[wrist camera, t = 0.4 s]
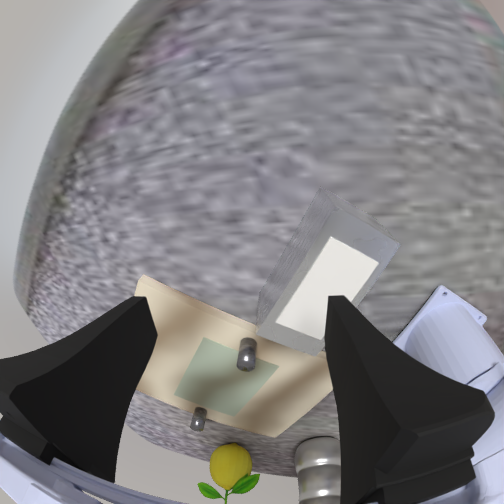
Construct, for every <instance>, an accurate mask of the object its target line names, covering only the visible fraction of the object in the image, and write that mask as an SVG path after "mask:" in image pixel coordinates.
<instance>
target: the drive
mask: <svg viewBox="0 0 504 504" xmlns="http://www.w3.org/2000/svg"><path fill="white" fill-rule="evenodd" d="M399 247H400V244H399V242H398V241H397V240H396V239H395V238H394V237H393V236H392V235H391V234H390V233H389V232H388V231H387V230H386V229H385V228H384V227H383V226H382V225H381V224H380V223H379V222H378V221H377V220H376V219H375V218H374V217H373V216H371V215H370V214H368V213H366V212H365V211H363V210H361V209H360V208H358V207H356V206H354V205H353V204H351V203H349V202H348V201H346V200H344V199H342V198H341V197H339V196H337V195H335V194H333V193H332V192H330V191H328V190H326V189H324V188H323V187H321V186H320V188H319V190H318V192H317V193H316V195H315V197H314V199H313V201H312V202H311V204H310V206H309V208H308V210H307V211H306V213H305V215H304V217H303V218H302V220H301V222H300V224H299V226H298V227H297V229H296V231H295V233H294V234H293V236H292V238H291V240H290V241H289V243H288V245H287V247H286V248H285V250H284V252H283V253H282V255H281V257H280V259H279V260H278V262H277V264H276V265H275V267H274V269H273V271H272V272H271V274H270V276H269V277H268V279H267V281H266V283H265V284H264V286H263V288H262V289H261V291H260V294H259V304H258V314H257V324H256V335H258V336H261V337H263V338H266V339H269V340H271V341H274V342H276V343H279V344H282V345H284V346H287V347H290V348H292V349H295V350H298V351H301V352H303V353H306V354H309V355H312V356H315V357H316V356H317V355H318V353H319V352H320V351H321V350H322V349H323V348H324V346H325V340H324V335H325V325H326V315H327V304H328V296H334V295H344V296H345V297H346V298H347V299H348V300H349V301H350V302H351V303H352V304H353V305H354V306H355V307H357V306H358V305H359V303H360V302H361V301H362V299H363V298H364V297H365V295H366V294H367V293H368V291H369V290H370V288H371V287H372V286H373V284H374V283H375V282H376V280H377V279H378V277H379V276H380V275H381V273H382V272H383V270H384V269H385V267H386V266H387V264H388V263H389V262H390V260H391V259H392V257H393V256H394V254H395V253H396V251H397V250H398V248H399Z"/></svg>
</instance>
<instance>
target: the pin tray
mask: <svg viewBox="0 0 504 504" xmlns="http://www.w3.org/2000/svg"><path fill="white" fill-rule="evenodd" d="M135 296H145V297H146V298H147V301H148V305H149V308H150V311H151V314H152V318H153V321H154V324H155V327H156V330H157V333H158V337H157V340H156V344H155V347H154V350H153V353H152V356H151V358H150V360H149V362H148V365H147V367H146V369H145V371H144V373H143V375H142V377H141V379H140V382H139V384H138V386H137V388H136V390H138V391H140V392H142V393H145V394H147V395H149V396H151V397H153V398H156V399H158V400H160V401H163V402H165V403H167V404H170V405H172V406H175V407H177V408H180V409H182V410H185V411H188V412H190V413H193V418H192V422H191V426H190V428H191V429H192V430H194V431H203V428H204V424H205V419H206V418H207V419H210V420H213V421H216V422H219V423H222V424H226V425H229V426H232V427H236V428H239V429H242V430H246V431H250V432H254V433H257V434H261V435H265V436H270V437H274V438H276V437H277V436H278V435H280V434H281V433H282V432H283V431H285V430H286V429H287V428H289V427H290V426H291V425H292V424H294V423H295V422H296V421H297V420H299V419H300V418H301V417H302V416H303V415H305V414H306V413H307V412H308V411H309V410H311V409H312V408H313V407H314V406H315V405H316V404H317V403H319V402H320V401H321V400H322V399H323V398H324V397H325V396H326V395H328V394H329V393H330V392H331V391H332V390H333V386H332V382H331V377H330V373H329V368H328V364H327V359H326V352H324V351H322V350H321V351H320V352H319V353H318V355H317V356H316V357H315V356H312V355H309V354H306V353H303V352H301V351H298V350H295V349H292V348H290V347H287V346H284V345H282V344H279V343H276V342H274V341H271V340H269V339H266V338H263V337H261V336H258V335H256V325H254V324H252V323H249V322H247V321H244V320H242V319H240V318H237V317H235V316H233V315H230V314H228V313H226V312H223V311H221V310H219V309H216V308H214V307H212V306H210V305H207V304H205V303H203V302H201V301H199V300H196V299H194V298H192V297H190V296H188V295H186V294H183V293H181V292H179V291H177V290H175V289H173V288H171V287H169V286H167V285H164V284H162V283H160V282H158V281H156V280H154V279H152V278H150V277H148V276H146V275H144V274H143V275H142V277H141V278H140V279H139V281H138V284H137V288H136V292H135Z"/></svg>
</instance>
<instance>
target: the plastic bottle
mask: <svg viewBox="0 0 504 504" xmlns="http://www.w3.org/2000/svg"><path fill="white" fill-rule="evenodd" d="M294 461H295V468H296V472H297V474H298V485H299V504H340V491H341V453H340V442H339V441H338V440H337V439H335V438H331V437H320V438H314V439H310V440H307V441H304V442H303V443H301V444H300V445H299V447H298V448H297V450H296V453H295V458H294Z"/></svg>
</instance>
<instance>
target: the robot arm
mask: <svg viewBox="0 0 504 504" xmlns="http://www.w3.org/2000/svg"><path fill="white" fill-rule="evenodd" d="M444 292H445V293H444ZM443 293H444V294H443ZM486 319H487V317H486V316H485V315H484V314H483V313H482V312H480V311H479V310H477V309H476V308H475V307H473V306H472V305H470V304H469V303H468V302H466V301H465V300H463V299H462V298H460V297H459V296H458V295H456V294H455V293H453V292H452V291H450V290H449V289H447V288H446V287H444V286H442V285H441V286H439V287H438V288H437V289H436V290H435V291H434V293H433V294H432V295H431V297H430V298H429V299H428V301H427V302H426V303H425V304H424V306H423V307H422V308H421V310H420V311H419V312H418V313H417V315H416V316H415V317H414V318H413V319H412V321H411V322H410V323H409V324H408V325H407V327H406V328H405V329H404V330H403V331H402V332H401V334H400V335H399V336H398V337H397V338H396V339H395V340H394V341H393V343H392V342H391V341H390V340H389V339H388V338H386V337H385V336H384V335H383V334H382V333H381V332H380V331H378V330H377V329H376V328H375V327H374V326H373V325H372V324H371V323H370V322H369V321H368V320H367V319H366V318H365V317H364V316H363V315H362V314H361V313H360V312H359V310H358V309H357V308H356V307H355V306H354V305H353V304H352V303H351V302H350V301H349V300H348V299H347V298H346V297H345V296H344V295H334V296H328V304H327V315H326V325H325V335H324V340H325V350H326V359H327V364H328V368H329V373H330V377H331V382H332V386H333V391H334V396H335V400H336V405H337V411H338V420H339V433H340V453H341V491H340V504H504V356H503V354H502V353H501V351H500V350H499V348H498V347H497V346H496V344H495V343H494V341H493V340H492V339H491V337H490V336H489V335H488V333H487V332H486V331H485V329H484V328H483V327H482V325H483V324H484V323H485V321H486ZM157 337H158V333H157V330H156V327H155V324H154V321H153V318H152V314H151V311H150V308H149V305H148V301H147V298H146V297H145V296H133V297H131V298H129V299H127V300H125V301H124V302H122V303H120V304H119V305H117V306H116V307H114V308H113V309H111V310H110V311H108V312H107V313H105V314H103V315H102V316H100V317H99V318H97V319H96V320H94V321H93V322H91V323H89V324H88V325H86V326H84V327H83V328H81V329H79V330H78V331H76V332H74V333H73V334H71V335H69V336H67V337H65V338H63V339H61V340H59V341H57V342H55V343H52V344H50V345H47V346H45V347H42V348H40V349H37V350H35V351H32V352H29V353H25V354H22V355H18V356H14V357H10V358H4V359H0V413H1V414H2V415H3V417H2V418H1V420H0V487H1V488H2V489H3V490H4V491H5V492H6V493H7V494H8V495H9V496H10V497H11V498H12V499H13V500H14V501H15V502H17V504H102V503H101V502H99V501H98V500H96V499H94V498H92V497H90V496H89V495H87V494H85V493H83V491H85V492H87V493H90V494H92V495H94V496H96V497H99V498H101V499H104V500H106V501H109V502H111V503H114V504H187V503H181V502H177V501H172V500H168V499H164V498H160V497H155V496H152V495H148V494H145V493H141V492H138V491H134V490H131V489H128V488H125V487H122V486H119V485H116V484H114V482H115V472H116V462H117V455H118V449H119V443H120V438H121V434H122V429H123V426H124V422H125V418H126V415H127V411H128V408H129V405H130V402H131V399H132V397H133V394H134V392H135V390H136V388H137V386H138V384H139V382H140V379H141V377H142V375H143V373H144V371H145V369H146V367H147V365H148V362H149V360H150V358H151V356H152V353H153V350H154V347H155V344H156V340H157ZM82 490H83V491H82Z"/></svg>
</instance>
